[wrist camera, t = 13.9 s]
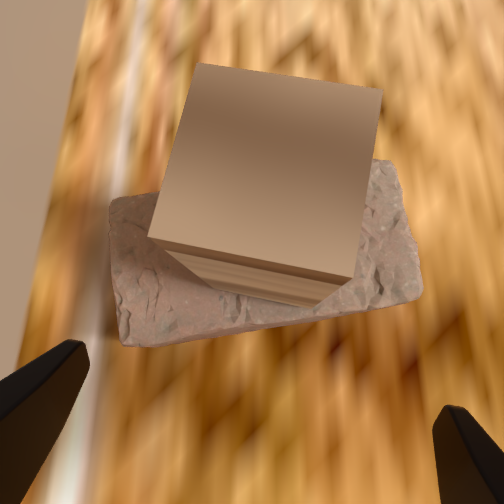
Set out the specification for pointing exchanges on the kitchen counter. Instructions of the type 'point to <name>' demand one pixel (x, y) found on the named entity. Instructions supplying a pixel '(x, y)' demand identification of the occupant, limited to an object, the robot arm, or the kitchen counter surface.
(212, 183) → the pillar block
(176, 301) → the brick
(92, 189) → the kitchen counter surface
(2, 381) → the robot arm
